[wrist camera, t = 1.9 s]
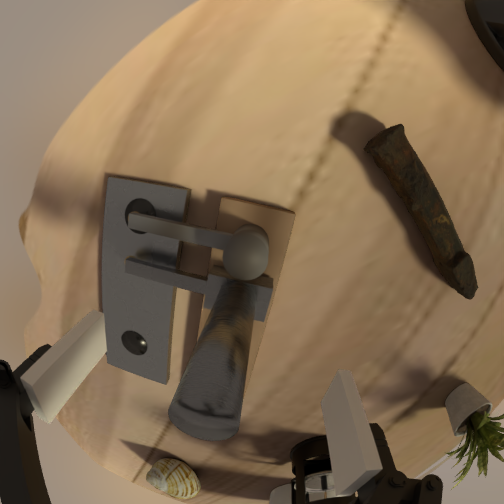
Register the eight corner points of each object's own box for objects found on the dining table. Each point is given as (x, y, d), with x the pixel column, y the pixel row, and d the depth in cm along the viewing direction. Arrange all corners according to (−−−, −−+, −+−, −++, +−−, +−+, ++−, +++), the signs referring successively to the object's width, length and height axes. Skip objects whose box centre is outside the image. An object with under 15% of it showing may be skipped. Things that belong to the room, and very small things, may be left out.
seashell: (192, 486, 38) (161, 511, 29) (162, 452, 41) (128, 474, 32) (222, 480, 35) (190, 511, 26) (189, 442, 38) (151, 469, 29)
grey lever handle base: (294, 212, 23) (301, 225, 17) (242, 397, 29) (236, 435, 23) (144, 181, 23) (109, 185, 17) (134, 366, 29) (114, 398, 23)
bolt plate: (191, 189, 23) (186, 190, 22) (169, 378, 29) (166, 385, 28) (114, 176, 23) (107, 177, 22) (111, 357, 29) (107, 363, 28)
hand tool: (355, 147, 21) (373, 142, 17) (387, 125, 20) (410, 117, 16) (437, 302, 25) (458, 323, 20) (462, 281, 24) (485, 298, 19)
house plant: (405, 401, 28) (443, 494, 13) (482, 340, 25) (544, 412, 10) (426, 433, 31) (454, 503, 15) (489, 386, 28) (530, 446, 12)
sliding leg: (273, 277, 23) (271, 413, 9) (264, 308, 24) (254, 449, 10) (129, 243, 23) (11, 315, 9) (127, 273, 24) (24, 360, 10)
